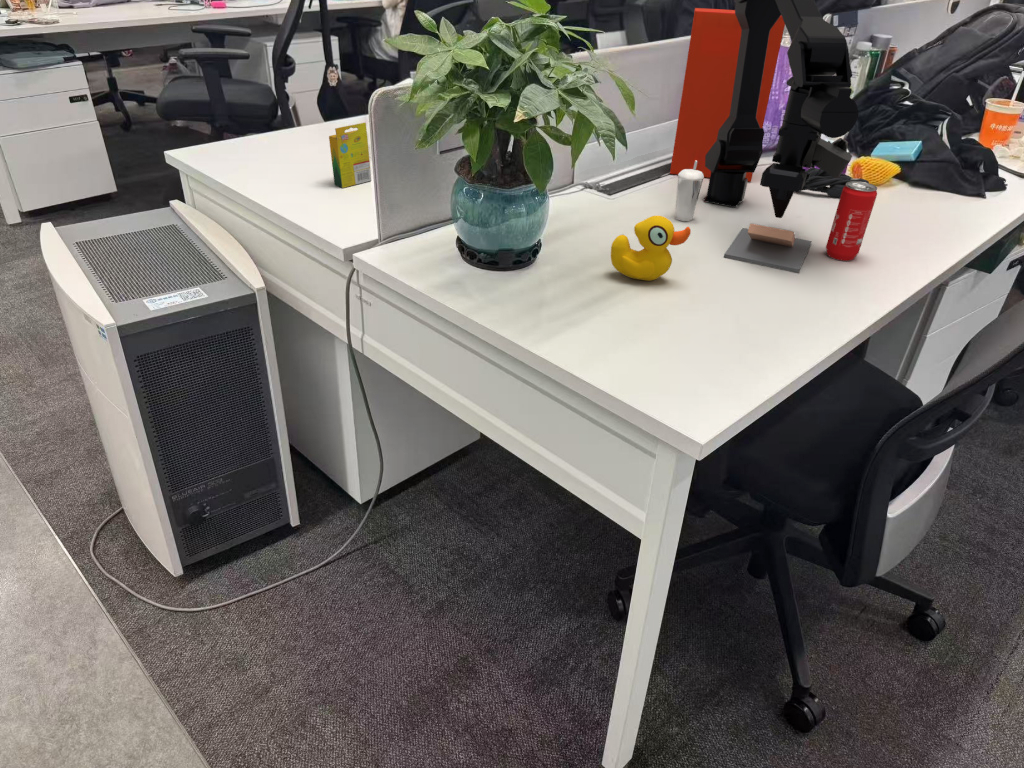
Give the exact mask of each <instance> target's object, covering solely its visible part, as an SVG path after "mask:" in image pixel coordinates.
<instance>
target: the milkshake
mask: <svg viewBox="0 0 1024 768" xmlns="http://www.w3.org/2000/svg"><path fill="white" fill-rule="evenodd" d="M697 162H698V161H695V163H694V168H693V169H684V170H682V171H681V172H680V173H679V174H678V175H677V186H676V187H677V188H676V189H677V190H676V199H675V200H676V201H675V211H674V219H676V220H677V221H680V222H692V220H693V219H694V215H695V212H696V207H697V202H698V199H699V194H700V192H701V188H702V184H703V181H704V178H705V177H704V175H703V173H702V172H701V171H698V170H696V166H697Z"/></svg>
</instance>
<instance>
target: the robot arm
mask: <svg viewBox="0 0 1024 768" xmlns="http://www.w3.org/2000/svg"><path fill="white" fill-rule="evenodd" d="M734 1H735V5H734V6H735V7H734V10H735V15H736V17H737V19H738V22H739V24H740V27H741V29H742V32H741V39H740V46H739V53H738V60H737V67H736V74H735V81H734V88H733V95H732V102H731V109H730V115H729V117H728V118H727V120H726V121H725V122H724V124H723V125H722V126H721V128H720V129H719V131H718V136H717V141H716V142H715V143H714V145H713V146H712V147H711V149H710V150H709V151H708V153H707V154H706V157H705V167H707V168H708V169H709V170H710V171H711V175H710V178H709V180H708V187H707V192H706V196H705V197H704V198H703V202H706V203H711V204H716V205H720V206H727V207H732V208H736V207H738V205H739V204H740V203H742V202H743V200H744V199H745V196H746V195H745V194H746V190H747V185H748V179H747V178H745V177H746V172H751V173H753V174H754V173H755V172H756V169H757V167H758V165H759V162H760V159H761V157H762V155H763V141H764V136H765V130H764V127H763V128H760V126H759V123H758V121H757V119H756V115H757V109H758V102H759V96H760V90H761V84H762V77H763V71H764V65H765V59H766V52H767V46H768V40H769V34H770V30H771V28H772V27H773V26H774V24H775V23H776V22H777V20H778V19H779V17H780V16H782V18H783V20H784V23H785V27H786V29H787V32H788V35H789V38H790V42H791V43H790V45H789V47H788V50H787V53H786V55H787V57H788V64H789V67H790V71H791V74H792V76H791V77H790V78H788V80H786V85H787V87H790V89H789V92H788V98H787V102H786V106H785V109H784V110H785V111H784V115H783V119H782V123H781V126H780V127H779V128H778V129H779V130H778V133H777V136H778V141H777V146H776V150H775V153H774V154H773V155H772V158H771V159H772V160H771V162H772V163H771V164H770V165H769V166H767V167H766V168H765V169H764V171H763V172H762V174H761V177H760V182H759V185H760V186H761V187H764V188H769V194H770V197H771V203H772V209H773V211H774V212H773V213H774V216H775V218H778V219H782V218H783V217H784V215H785V213H786V210H787V208H788V207H789V204H790V202H791V200H792V198H793V196H794V193H799V192H802V191H803V190H802V189H803V186H804V185H805V184H806V182H807V181H806V180H808V178H809V176H810V174H808V173H806V172H805V171H806V169H807V168H809V169H810V168H816V167H817V169H822V170H824V171H825V172H827V173H829V175H830V176H832V177H834V178H839V176H840V175H841V174H843V172H844V171H845V169H846V168H847V166H848V164H850V163H851V160H852V159H853V155H852V154H851V152H850V151H848V145H849V142H848V140H846V139H844V138H843V136H845V135H846V134H849V132H850V131H851V130H852V129H853V128H854V126H855V125H856V123H857V120H858V117H859V112H858V111H859V110H858V109H859V108H858V105H857V103H856V102H855V100H854V99H852V98H851V94H852V91H853V89H852V88H851V86H852V79H851V78H852V77H853V72H852V66H851V63H850V62H851V61H850V53H849V51H850V50H849V46H848V41H847V39H846V37H845V35H844V34H843V33H842V32H841V31H840V29H839V28H838V27H837V26H835V25H833V24H831V23H829V22H828V21H826V20H825V19H824V18H823V15H822V14H821V12H820V9H819V8H818V6H817V4H816V1H815V0H734ZM822 135H823V136H826V137H827V138H831V139H836V138H837V139H836V140H834V141H833V142H831V141H830V140H828V141H827V140H825V139H823V138H822ZM805 168H806V169H805Z"/></svg>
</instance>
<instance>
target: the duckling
mask: <svg viewBox="0 0 1024 768" xmlns="http://www.w3.org/2000/svg"><path fill="white" fill-rule="evenodd" d="M633 230H634V234H635V236H636V237H637V238H636V239H637V241H638V243H639V244H640V245H641V247H642V249H641V250H636V249H633V248H631V245H630V241H629V238H628V237H627V235H625V234H619V235H618V236H616V237H615V239H614V240H613V241H612V243H611V246H610V260H611V264H612V266H613V267H614V269H615V270H616V271H617V272H619V273H621V274H622V275H624V276H626V277H628V278H631V279H633V280H634V279H635V280H640V281H651V282H652V281H654V280H657V279H659V278H661V276H663V275H665V274H666V273H667V272H668V271H669V270H670V268H671V266H672V264H673V258H672V255H671V252H670V251H669V250H668V247H669V245H670V246H679V245H682V244H684V243H685V242H687V240H688V239H689V237H690V236H691V233H692V231H691V228H690V226H686V227H685V228H684V229H682V230H678V231H675V227H674V224H673V222H672V221H671V220H670V219H669V218H667V217H665V216H662V215H652V216H650V217H647V218H646V219H644V220H641V221H639V222H637V223H636V224H635V225H634V229H633Z"/></svg>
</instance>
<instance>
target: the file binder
mask: <svg viewBox="0 0 1024 768" xmlns="http://www.w3.org/2000/svg"><path fill="white" fill-rule="evenodd" d="M785 27H786V25H785V23H784V20H783V18H782V16H780V17H779V19H778V20H777V22H776V23H775V24H774V26H773V27H772V28H771V30H770V34H769V40H768V46H767V52H766V59H765V65H764V71H763V77H762V84H761V90H760V96H759V102H758V109H757V115H756V119H757V121H758V123H759V126H760V128H763V129H764V124H765V118H766V115H767V110H768V105H769V100H770V95H771V92H772V87H773V81H774V77H775V73H776V67H777V62H778V60H779V59H778V58H779V53H780V49H781V45H782V40H783V36H784V31H785ZM741 32H742V29H741V27H740V24H739V22H738V19H737V17H736V15H735V9H721V8H720V9H718V8H705V7H704V8H703V7H702V8H701V7H694V15H693V20H692V25H691V31H690V40H689V47H688V52H687V58H686V65H685V71H684V77H683V78H684V79H683V85H682V91H681V97H680V104H679V109H678V110H679V112H678V117H677V124H676V131H675V137H674V145H673V149H672V156H671V163H670V170H669V175H675V176H676V175H677V176H678V174H679V173H680V172H681V171H682V170H684V169H693V168H694V163H695V161H698V162H697V166H696V170H698V171H701V172H702V173H703V175H704V178H709V179H710V175H711V171H710V170H709V169H708V168H707V167H705V157H706V154H707V153H708V151H709V150H710V149H711V147H712V146H713V145H714V143H715V142H716V141H717V136H718V131H719V129H720V128H721V126H722V125H723V124H724V122H725V121H726V120H727V118H728V117H729V115H730V109H731V102H732V95H733V88H734V81H735V74H736V67H737V60H738V53H739V46H740V39H741ZM753 174H754V173H751V172H746V177H745V178H747V179H748V182H750V183H751V182H752V179H753ZM748 182H747V183H748Z"/></svg>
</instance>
